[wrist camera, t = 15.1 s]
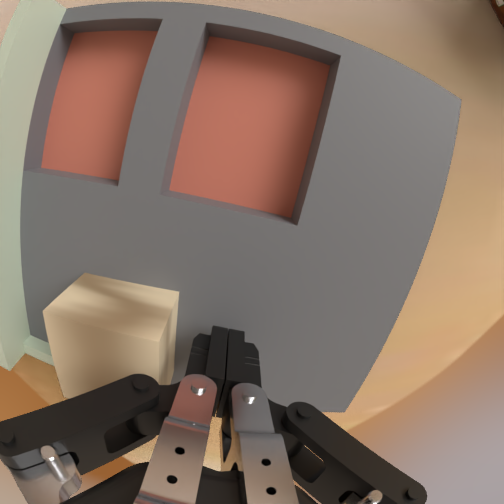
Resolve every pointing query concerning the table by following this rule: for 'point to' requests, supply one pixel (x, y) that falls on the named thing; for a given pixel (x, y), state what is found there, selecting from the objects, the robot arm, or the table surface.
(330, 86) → the grey panel with windows
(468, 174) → the table surface
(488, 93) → the table surface
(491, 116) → the table surface
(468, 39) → the table surface
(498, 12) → the food container
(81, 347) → the maple block
